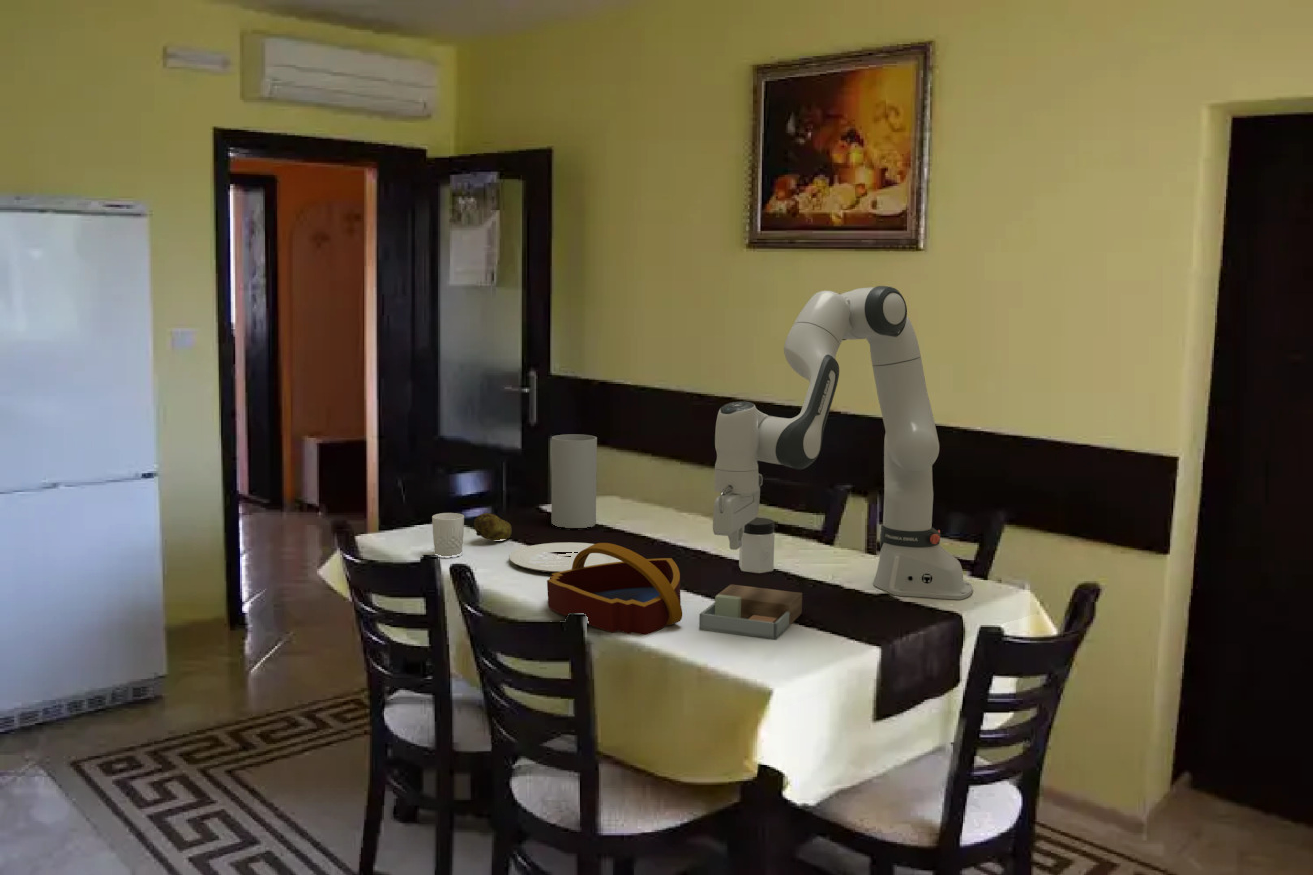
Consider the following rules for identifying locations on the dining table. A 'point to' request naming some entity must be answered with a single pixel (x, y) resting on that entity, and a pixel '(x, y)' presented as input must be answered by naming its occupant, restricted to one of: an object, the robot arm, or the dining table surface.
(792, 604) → the walnut block
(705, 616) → the tray
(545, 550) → the plate
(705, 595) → the dining table surface
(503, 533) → the potato
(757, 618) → the terracotta tile
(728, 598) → the sage tile
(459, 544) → the white cup
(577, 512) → the cylinder vase
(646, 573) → the decorative basket
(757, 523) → the jar
